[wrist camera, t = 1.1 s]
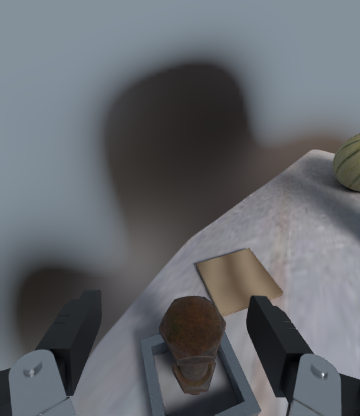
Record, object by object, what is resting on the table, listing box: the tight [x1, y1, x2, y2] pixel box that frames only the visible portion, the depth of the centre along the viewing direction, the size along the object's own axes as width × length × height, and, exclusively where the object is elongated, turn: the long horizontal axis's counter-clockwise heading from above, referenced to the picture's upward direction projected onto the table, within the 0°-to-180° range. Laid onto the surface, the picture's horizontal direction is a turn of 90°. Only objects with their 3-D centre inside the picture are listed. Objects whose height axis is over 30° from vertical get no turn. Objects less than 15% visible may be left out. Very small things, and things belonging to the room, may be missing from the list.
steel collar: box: [140, 331, 261, 416], centre depth 27 cm, size 11×11×3 cm
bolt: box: [159, 296, 226, 395], centre depth 24 cm, size 6×5×15 cm
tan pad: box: [196, 248, 283, 317], centre depth 39 cm, size 11×10×1 cm
